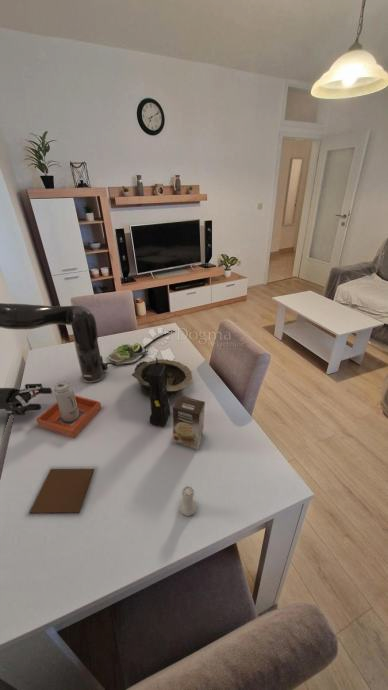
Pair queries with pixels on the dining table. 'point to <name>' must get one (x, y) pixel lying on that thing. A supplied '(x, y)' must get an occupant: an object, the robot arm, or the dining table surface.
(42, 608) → the dining table surface
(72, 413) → the energy drink can
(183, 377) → the stone bowl
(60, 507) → the coaster
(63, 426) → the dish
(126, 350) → the salad plate
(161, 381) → the portable radio
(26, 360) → the dining table surface
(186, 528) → the dining table surface
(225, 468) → the dining table surface
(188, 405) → the coffee box
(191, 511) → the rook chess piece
